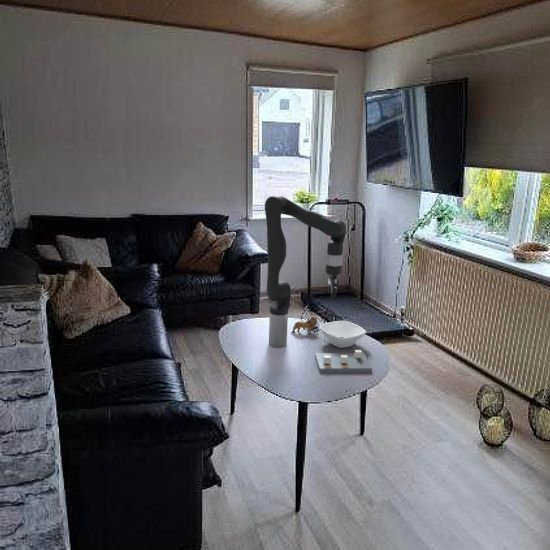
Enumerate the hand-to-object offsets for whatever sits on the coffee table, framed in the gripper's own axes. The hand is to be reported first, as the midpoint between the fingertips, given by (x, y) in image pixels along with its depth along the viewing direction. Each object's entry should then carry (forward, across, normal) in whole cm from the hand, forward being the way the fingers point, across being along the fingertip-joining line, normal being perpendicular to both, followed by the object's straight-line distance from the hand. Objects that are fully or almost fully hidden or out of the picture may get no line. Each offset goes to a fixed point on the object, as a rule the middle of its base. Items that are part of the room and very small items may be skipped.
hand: (331, 296), depth 235 cm
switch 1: (+28, +14, -3) cm, 31 cm away
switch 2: (+28, +14, +5) cm, 31 cm away
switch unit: (+30, +11, +5) cm, 32 cm away
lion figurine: (+30, -27, -8) cm, 41 cm away
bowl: (+30, -12, +9) cm, 34 cm away
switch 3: (+28, +8, +13) cm, 32 cm away
